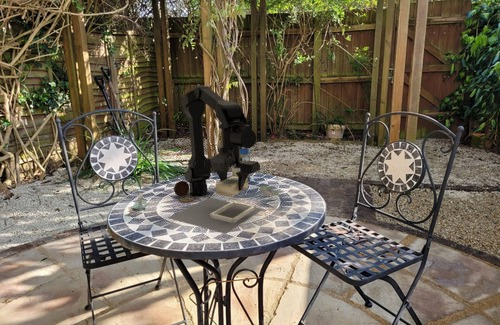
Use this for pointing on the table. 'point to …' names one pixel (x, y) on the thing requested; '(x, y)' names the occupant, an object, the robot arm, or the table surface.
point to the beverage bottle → (245, 157)
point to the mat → (216, 214)
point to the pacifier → (139, 204)
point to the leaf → (267, 191)
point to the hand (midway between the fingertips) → (232, 189)
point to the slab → (230, 187)
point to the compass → (183, 192)
